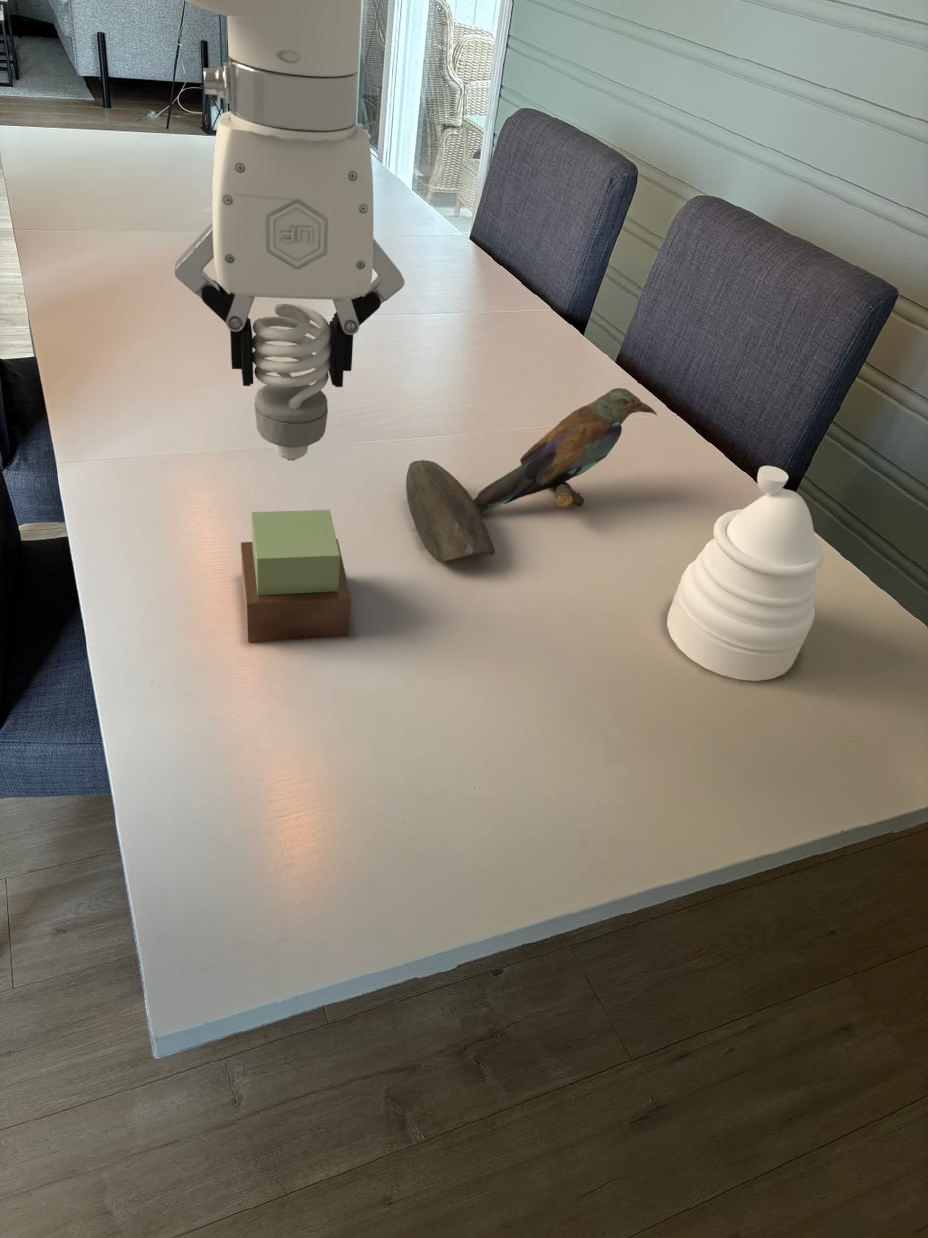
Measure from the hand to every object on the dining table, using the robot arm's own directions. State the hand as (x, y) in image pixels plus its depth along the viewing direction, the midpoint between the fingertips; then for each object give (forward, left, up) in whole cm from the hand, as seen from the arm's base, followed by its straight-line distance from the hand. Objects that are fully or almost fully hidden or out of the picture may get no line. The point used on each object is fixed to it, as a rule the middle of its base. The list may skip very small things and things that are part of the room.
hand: (291, 375), depth 66 cm
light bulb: (0, 0, -7) cm, 7 cm away
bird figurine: (+32, +20, -25) cm, 45 cm away
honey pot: (+43, -4, -25) cm, 50 cm away
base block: (+1, +4, -25) cm, 26 cm away
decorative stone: (+18, +16, -26) cm, 35 cm away
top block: (+1, +4, -21) cm, 21 cm away
